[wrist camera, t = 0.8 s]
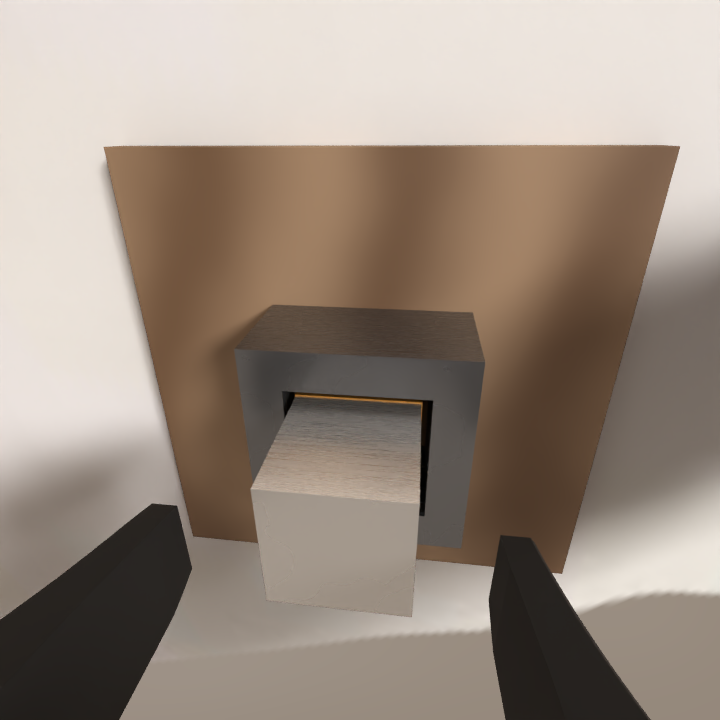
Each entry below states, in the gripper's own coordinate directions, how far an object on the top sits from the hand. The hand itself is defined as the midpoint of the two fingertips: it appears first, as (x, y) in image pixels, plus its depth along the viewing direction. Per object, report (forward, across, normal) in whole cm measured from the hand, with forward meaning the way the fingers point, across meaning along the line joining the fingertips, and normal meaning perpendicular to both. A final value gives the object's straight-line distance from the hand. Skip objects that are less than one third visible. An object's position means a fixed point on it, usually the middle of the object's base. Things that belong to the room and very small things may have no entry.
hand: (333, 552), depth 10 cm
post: (+7, 0, 0) cm, 7 cm away
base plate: (+8, 0, 0) cm, 8 cm away
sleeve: (+8, 0, 0) cm, 8 cm away
